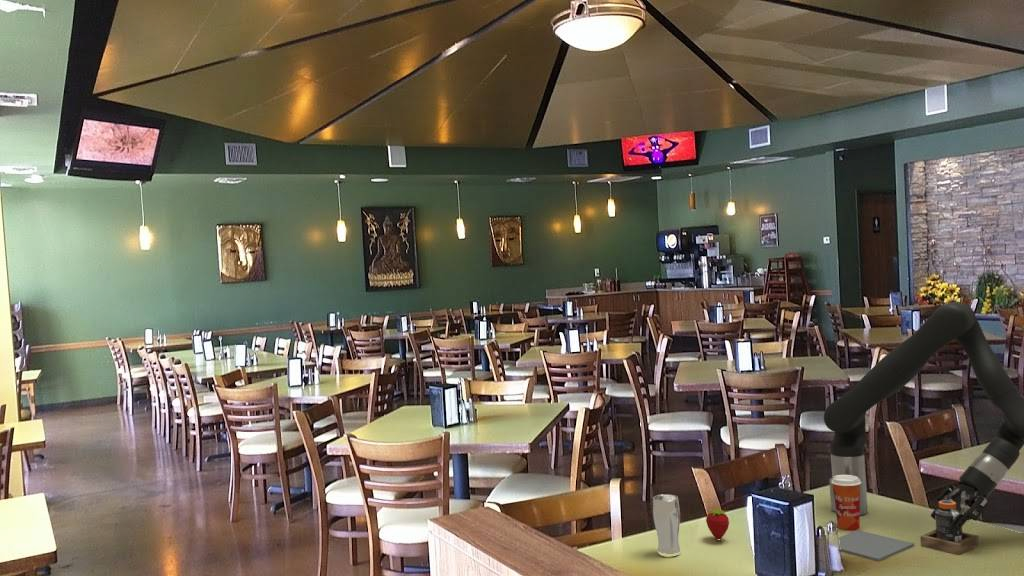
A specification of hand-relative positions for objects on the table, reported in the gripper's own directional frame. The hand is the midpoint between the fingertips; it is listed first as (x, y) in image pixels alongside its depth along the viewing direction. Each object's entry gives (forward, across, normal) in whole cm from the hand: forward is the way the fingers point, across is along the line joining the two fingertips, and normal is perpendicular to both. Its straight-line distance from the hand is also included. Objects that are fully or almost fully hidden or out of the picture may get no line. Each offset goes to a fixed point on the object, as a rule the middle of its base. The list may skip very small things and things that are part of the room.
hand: (943, 523), depth 209 cm
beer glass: (+53, -13, -44) cm, 70 cm away
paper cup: (+15, -20, -6) cm, 26 cm away
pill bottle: (+3, 0, +5) cm, 6 cm away
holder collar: (+3, 0, +5) cm, 6 cm away
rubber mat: (+17, -5, -8) cm, 19 cm away
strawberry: (+42, -20, -33) cm, 57 cm away
